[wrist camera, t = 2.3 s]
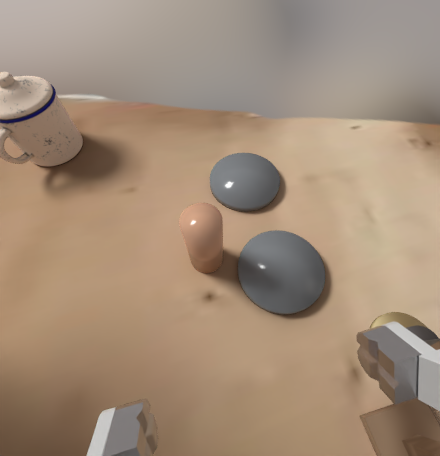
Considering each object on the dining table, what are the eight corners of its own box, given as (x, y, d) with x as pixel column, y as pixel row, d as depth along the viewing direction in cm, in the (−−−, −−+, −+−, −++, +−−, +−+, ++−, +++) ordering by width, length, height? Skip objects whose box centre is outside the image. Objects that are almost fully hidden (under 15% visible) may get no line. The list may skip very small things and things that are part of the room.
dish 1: (220, 218, 34) (219, 214, 33) (203, 165, 38) (202, 160, 38) (289, 202, 35) (291, 198, 34) (264, 152, 39) (265, 147, 39)
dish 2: (253, 325, 27) (253, 324, 26) (228, 244, 32) (228, 241, 31) (337, 301, 28) (341, 298, 27) (301, 226, 33) (303, 222, 32)
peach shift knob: (194, 276, 30) (183, 244, 22) (188, 247, 32) (175, 207, 24) (226, 268, 30) (227, 233, 22) (218, 239, 32) (216, 198, 24)
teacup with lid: (49, 125, 44) (-5, 51, 33) (95, 134, 42) (54, 60, 32) (3, 176, 38) (-78, 107, 28) (54, 188, 37) (-11, 120, 27)
